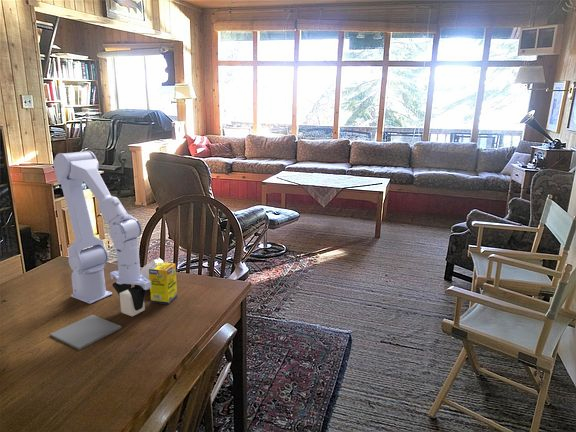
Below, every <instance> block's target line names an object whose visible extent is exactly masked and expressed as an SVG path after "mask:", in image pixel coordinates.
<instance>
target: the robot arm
mask: <svg viewBox="0 0 576 432" xmlns="http://www.w3.org/2000/svg"><path fill="white" fill-rule="evenodd" d="M52 166H53V170H54V174H55V177H56V178H55V179H56V180H57V183H58V184H60V185H61V189H62V192H63V198H64V201H65V204H66V209H67V214H68V216H69V220H70V224H71V229H72V234H73V236H74V241H73V242H72V243H71V244H70V246H68V248H67V253H68V265H69V267H70V268H71V270H72V273H71V277H70V278H71V286H72V292H73V293H72V294H70V297H71V298H74V299H76V300H79V301H81V302H84V303H86V304H89V305H91V304H93V303H95V302H98V301H100V300H102V299H105V298H106V297H109V296H111V295H113V292H111V291H109V290H107V289H106V288H107V287H106V280H105V271H104V268H105V267H106V264H107V263H108V261H109V257H110V255H109V251H108V249H107V248H106V246H105V243H104V240H103V239H101V238H99V237H96V236H95V234H94V233H95V232H94V230H93V225H92V221H91V217H90V214H89V210H88V206H87V201H86V197H85V193H84V189H83V184H85V185H86V186H87V188H88V190H89V191H90V192H91V193H92V195H94V197H95V199H96V200H97V201H98V206H97V208H98V210H99V212H100V213H101V215H102V217H103V218H104V220H105V221H106V223H107V224H108V226H109V228H110V229H109V231H108V232H109V236H110V239H111V240H112V242H113V247H114V249H116V251H115V252H116V260H117V269H118V270H114V271H111V272H110V273H109V275H110V279H111V280H116V281H115V282H113V283H112V288H114V289H115V291H116V293H117V294H118V296H119V298H120V294H119V293H121V292H123V291H125V290H128V291H129V292H130V294H131V296H132V299H133V304H134V308H135V310H139V309H141V308H142V307H143V302H144V303H145V297H146V295H147V293H148V289H149V288H151V281H149V280H147V279H146V278H145V277H143V276H142V275H141V273H140V272H141V262H140V251H139V240H138V238H139V237H141V235H142V234H143V233H142V232H143V229H142V226H141V223H140V221H139V219H137V218H136V217H133V215H131V214H129V213H128V212H127V210H126V208H125V207H124V206H123V203H122V202H121V200H120V199H119V197H117V196H114V195H111V192H110V191H109V188H108V187H107V185H106V184H105V181H104V179H103V177H102V176H101V174H100V172H99V168H100V167H99V161H98V159H97V156H96V155H95V154H94V152H92V151H91V150H85V151H77V152H76V151H75V152H66V153H62V152H58V153H57V154H56V155H55V157H54V159H53V161H52ZM132 285H134V286H132Z"/></svg>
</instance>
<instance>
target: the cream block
mask: <svg viewBox="0 0 576 432" xmlns="http://www.w3.org/2000/svg"><path fill="white" fill-rule="evenodd" d="M119 294H120V297H119V301H120V303H119V304H120V312H121V313H122V314H123V315H124V314H125V315H127V316H131V317H134V316H136V315H139V314H140V313H141V312H143V311H146V306H145V301H144V302H143V307H142V308H141V309H139V310H135V308H134V304H133V299H132V296H131V294H130V292H129V291H128V290H125V291H123V292H121V293H119ZM119 294H118V295H119Z"/></svg>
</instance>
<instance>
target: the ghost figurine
mask: <svg viewBox="0 0 576 432" xmlns="http://www.w3.org/2000/svg"><path fill="white" fill-rule="evenodd" d="M158 262H164V263H165V261H164V260H163V259H161V258H155V259H153V260H152V262H149V263H147V264H145V265H144V266H143V267H142V268H141V269H140V273H141V275H142V276H143V277H145V278H146V279H147V280H149V268H151V267H152V266H154V265H155V264H157V263H158ZM148 290H149V291H150V288H149V289H148ZM148 290H147V291H148Z"/></svg>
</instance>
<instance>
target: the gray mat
mask: <svg viewBox="0 0 576 432" xmlns="http://www.w3.org/2000/svg"><path fill="white" fill-rule="evenodd" d="M120 329H122V325H120V324H117V323H115V322H113V321H109V320H107V319H105V318H102V317H100V316H97V315H94V314H90V315H89V316H87V317H84V318H81V319H79V320H77V321H76V322H72V323H71V324H68V325H66V326H65V327H62V328H59V329H58V330H55V331H53V332H51V333H49V335H50V337H52V338H53V339H55V340H58V341H59V342H62V343H64V344H66V345H69V346H70V347H72V348H73V349H76V350H78V351H80V350H82V349H84V348H87V347H88V346H90V345H92V344H95V342H98V341H100V340H101V339H104V338H105V337H107V336H109V335H111V334H113V333H115V332H117V331H118V330H120Z"/></svg>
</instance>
